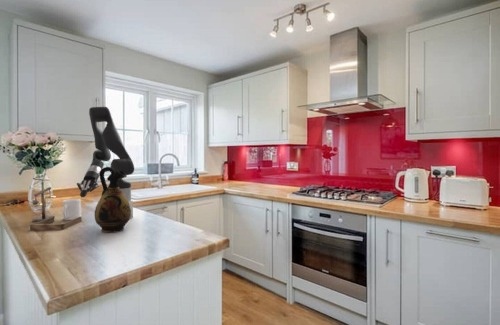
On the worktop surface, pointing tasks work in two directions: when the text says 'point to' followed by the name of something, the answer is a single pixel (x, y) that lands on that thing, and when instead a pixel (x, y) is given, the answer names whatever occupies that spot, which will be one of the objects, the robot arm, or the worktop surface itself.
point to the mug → (71, 209)
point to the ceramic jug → (112, 203)
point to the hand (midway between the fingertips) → (82, 196)
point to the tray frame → (47, 226)
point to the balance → (36, 203)
